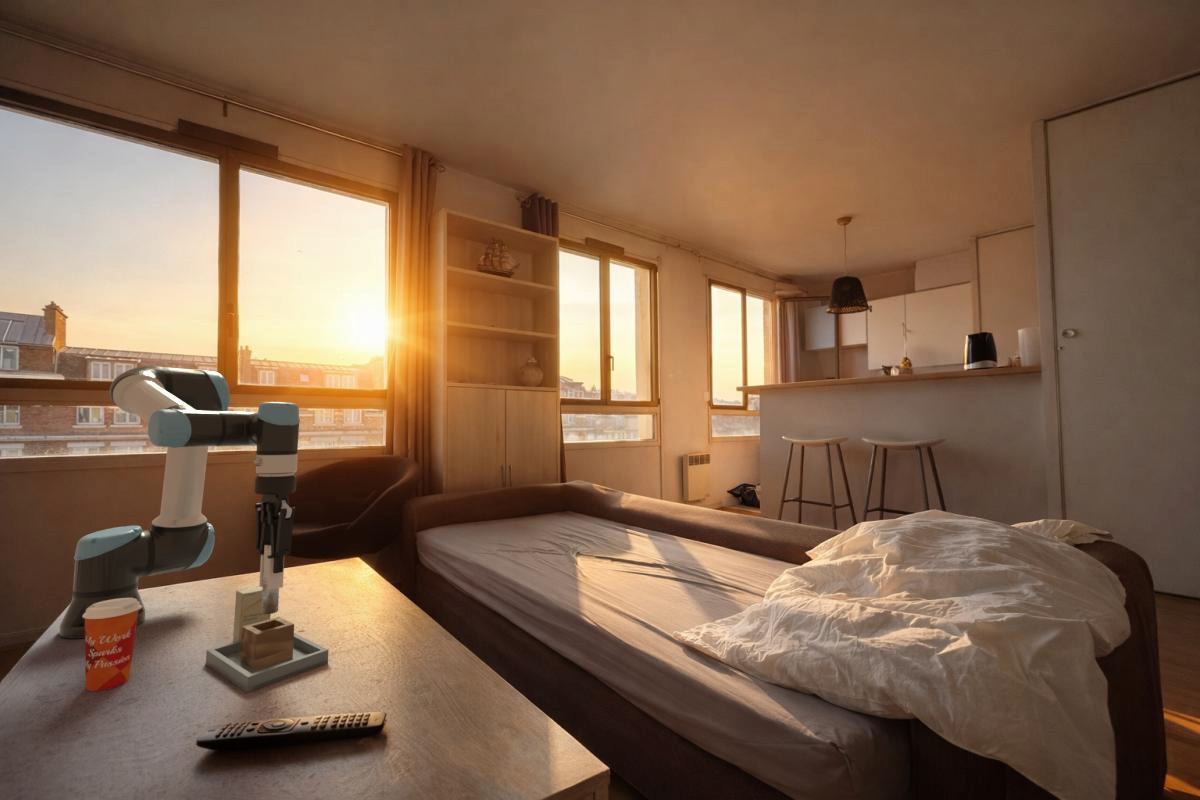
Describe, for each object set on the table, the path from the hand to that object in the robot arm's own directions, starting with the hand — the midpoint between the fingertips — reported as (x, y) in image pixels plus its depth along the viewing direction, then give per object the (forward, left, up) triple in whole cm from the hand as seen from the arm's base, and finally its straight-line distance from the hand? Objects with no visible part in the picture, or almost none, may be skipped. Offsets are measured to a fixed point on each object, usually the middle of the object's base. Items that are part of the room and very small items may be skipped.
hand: (271, 586), depth 109 cm
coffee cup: (-15, -22, -16) cm, 31 cm away
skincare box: (-14, +2, -16) cm, 22 cm away
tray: (0, 0, -16) cm, 16 cm away
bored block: (0, 0, -15) cm, 15 cm away
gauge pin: (0, 0, -5) cm, 5 cm away
